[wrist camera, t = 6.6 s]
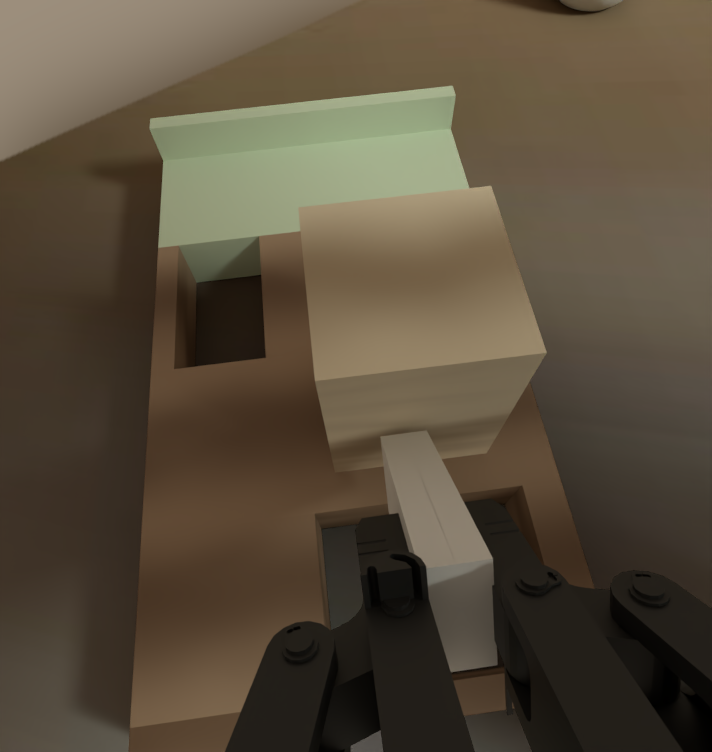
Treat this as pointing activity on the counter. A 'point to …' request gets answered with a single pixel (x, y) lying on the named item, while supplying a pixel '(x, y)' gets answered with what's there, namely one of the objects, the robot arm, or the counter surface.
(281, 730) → the robot arm
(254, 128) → the pad
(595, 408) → the counter surface
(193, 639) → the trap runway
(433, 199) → the maple block
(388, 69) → the counter surface
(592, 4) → the teacup
